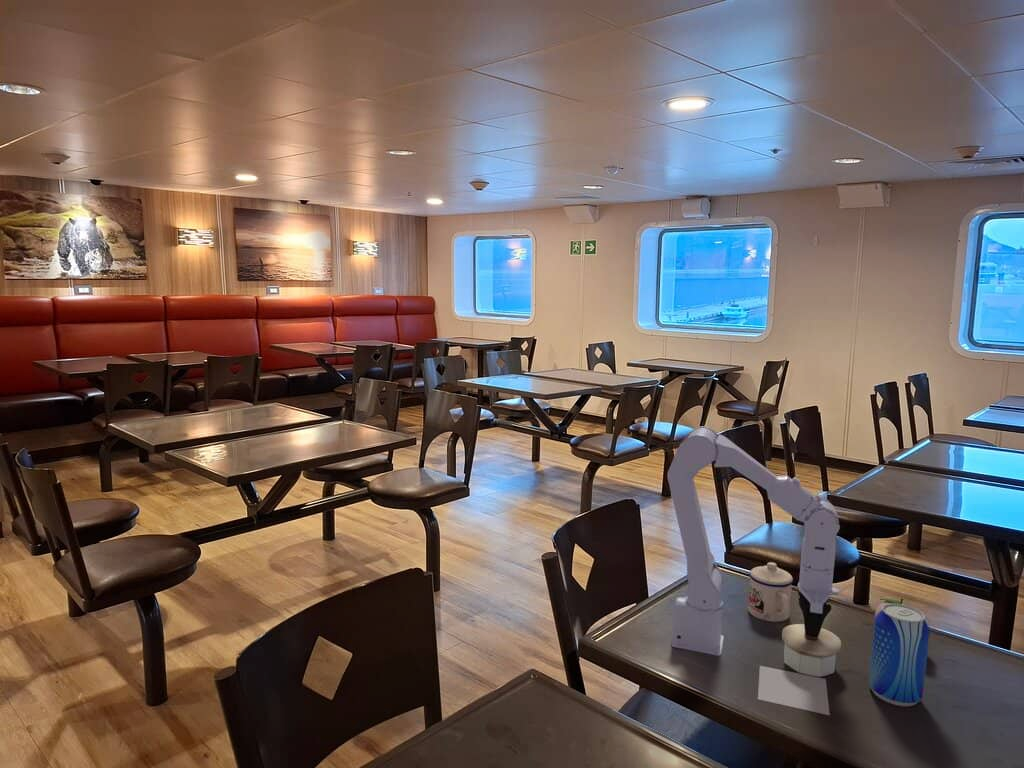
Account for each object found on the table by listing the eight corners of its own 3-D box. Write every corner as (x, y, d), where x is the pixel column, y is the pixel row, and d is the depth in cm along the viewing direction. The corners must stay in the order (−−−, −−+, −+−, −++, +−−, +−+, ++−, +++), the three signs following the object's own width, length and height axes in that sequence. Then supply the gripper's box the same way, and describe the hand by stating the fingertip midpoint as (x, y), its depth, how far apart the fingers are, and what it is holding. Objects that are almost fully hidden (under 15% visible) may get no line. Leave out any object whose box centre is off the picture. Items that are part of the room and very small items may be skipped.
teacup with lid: (740, 604, 157) (743, 555, 155) (778, 603, 158) (781, 554, 156) (764, 630, 145) (768, 578, 144) (805, 629, 146) (809, 577, 144)
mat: (757, 701, 121) (757, 699, 121) (759, 667, 131) (759, 665, 131) (829, 717, 117) (829, 714, 117) (825, 681, 127) (825, 679, 127)
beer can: (929, 713, 118) (939, 626, 116) (876, 706, 120) (885, 620, 117) (911, 685, 126) (920, 603, 124) (862, 679, 128) (870, 598, 125)
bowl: (784, 671, 130) (785, 651, 129) (784, 648, 138) (785, 630, 138) (835, 682, 127) (837, 661, 126) (832, 658, 135) (833, 639, 134)
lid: (782, 649, 129) (784, 625, 128) (781, 624, 138) (782, 601, 138) (843, 660, 125) (846, 635, 125) (837, 633, 135) (839, 610, 134)
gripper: (843, 583, 121) (837, 655, 123) (837, 554, 135) (831, 618, 137) (800, 577, 124) (794, 647, 126) (798, 548, 137) (793, 612, 139)
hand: (811, 632), depth 132 cm, fingers closed on lid, 2 cm apart
